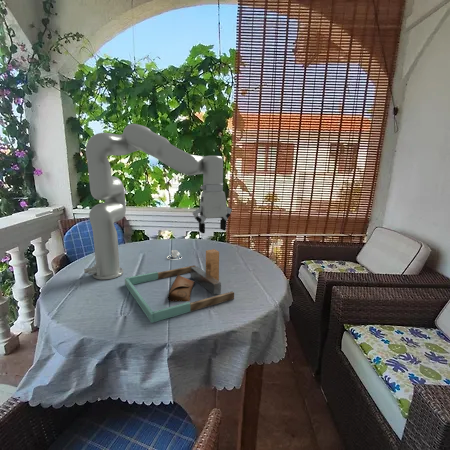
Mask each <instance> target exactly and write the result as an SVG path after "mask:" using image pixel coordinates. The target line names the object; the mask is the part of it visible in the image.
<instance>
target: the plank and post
mask: <svg viewBox="0 0 450 450" xmlns="http://www.w3.org/2000/svg"><path fill="white" fill-rule="evenodd" d="M195 266H196V265H195ZM190 278H191V279H193V281H194V282H195V283H198V284H199V285H200V286H201V287H203V288H204V289H205V290H207V291H208V292H209V293H210V294H212V296H217V295H221V294H222V290H221V289H222V282H221V281H220V250H219V251H218V250H217V249H215V248H213V249H206V250H205V271H204V270H203V269H201V268H200V267H199V266H196V267H191V272H190Z"/></svg>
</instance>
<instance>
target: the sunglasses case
mask: <svg viewBox="0 0 450 450" xmlns="http://www.w3.org/2000/svg"><path fill="white" fill-rule="evenodd" d="M195 284H196V281H195V280H191V279H189V278H186V277H185V276H181V274H180V275H176V276H175V279H174V281H173V282H172V285H171V288H170V289H169V291H168V295H167V300H168V302H190V301H191V295H192V291H193V288H194V285H195Z"/></svg>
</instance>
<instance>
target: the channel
mask: <svg viewBox="0 0 450 450" xmlns="http://www.w3.org/2000/svg"><path fill="white" fill-rule="evenodd" d="M191 267H196V265H189V266H184V267H179V268H173V269H169V270H164V271H159V272H158V271H157V272H158V279H157V280H160V279H164V278H171V277H176V276H177V275H180V276H181V275H185V274H189V273H190V274H191ZM234 299H235V291H230V292H225V293H221V294H217V295H213V296H210V297H208V298H207V297H206V298H203V299H200V300H196V301H192V302H189V303H190V312H195V311H197V310H201V309H203V308H207V307H212V306H214V305H217V304H221V303H225V302H229V301H231V300H234Z"/></svg>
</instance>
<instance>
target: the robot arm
mask: <svg viewBox="0 0 450 450" xmlns="http://www.w3.org/2000/svg"><path fill="white" fill-rule="evenodd" d="M122 131H123V132H122V133H121V134H117V133H116V134H115V133H112V132H111V133H110V132H98V133H96V134H94V135H92V136H91V137H90V138H89V139H88V141H87V142H86V146H85V156H86V161H87V169H88V173H87V174H88V182H89V190H90V193H91V196H92V198H94V199H95V200H98V201H103V202H101V203H98V204H96V205H93V206H92V207H91V209H90V211H89V213H88V219H89V222H90V226H91V229H92V237H93V238H92V239H93V245H94V247H93V249H94V257H95V264H93V265H94V266H92V267H88V268H86V267H85V268H84V269H83V271H84V272H83V273H84V274H88V275H91V274H92V277H93V279H96V280H102V281H103V280H105V281H106V280H112V279H116V278H119V277H121V276H123V274H124V269H123V267H120V254H119V241H118V240H119V239H118V232H117V228H116V227H115V223H117V222H119V221H122V220H123V219H124V218H125V216H126V210H127V208H126V194H125V187H124V184H123V182H122V180H121V179H120V178H118V177H117V176H114V175H112V167H111V163H110V161H109V159H108V156H116V157H117V156H118V157H119V156H126V155H129V154H132V153H134V152H137V151H141V152H143V153H145V154H147V155H149V156H151V157H153V158H155V159H157V160H158V161H159V162H161V163H163V164H164V165H165V166H167V167H169V168H171V169H173V170H175V171H176V172H179V173H181V174H183V175H185V176H195V175H202V177H203V178H202V179H203V180H202V181H203V184H202V185H200V190H202V191H201V195H200V202H199V208H197V209H196V210H194V211H193V212H192V215H193V217H194V219H195V220H196V221H197V223H198V231H199V232H200V233H201V234H205V233H206V223H205V221H206V220H208V219H217V218H220V222H219V223H220V226H219V227H220V230H222V231H226V230H227V229H226V228H227V221H228V220H229V217H230V216H231V214H232V208H230V207H228V206H227V197H226V192H225V191H223V189H224V188H223V187H224V186H223V185H224V182H223V181H224V180H223V179H224V159H223V157H222V156H221V155H205V156H204V155H198V154H190V153H188V152H186V151H184V150H183V149H180V148H178V147H177V146H175V145H173V144H171V142H170V141H169V140H168V139H167V138H166V137H165V136H162V135H160V134H158V133H156V132H154V131H152V130H151V129H150V128H149V127H147V126H145V125H141V124H138V123H131V124H128V125H126V126H125V128H124V129H123V130H122Z"/></svg>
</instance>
